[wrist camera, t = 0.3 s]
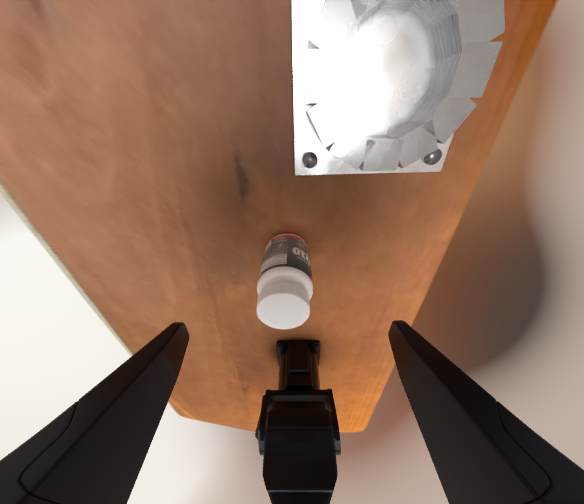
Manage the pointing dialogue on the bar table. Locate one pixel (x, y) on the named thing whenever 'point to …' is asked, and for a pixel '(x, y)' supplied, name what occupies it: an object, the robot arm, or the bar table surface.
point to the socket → (387, 80)
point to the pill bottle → (285, 283)
